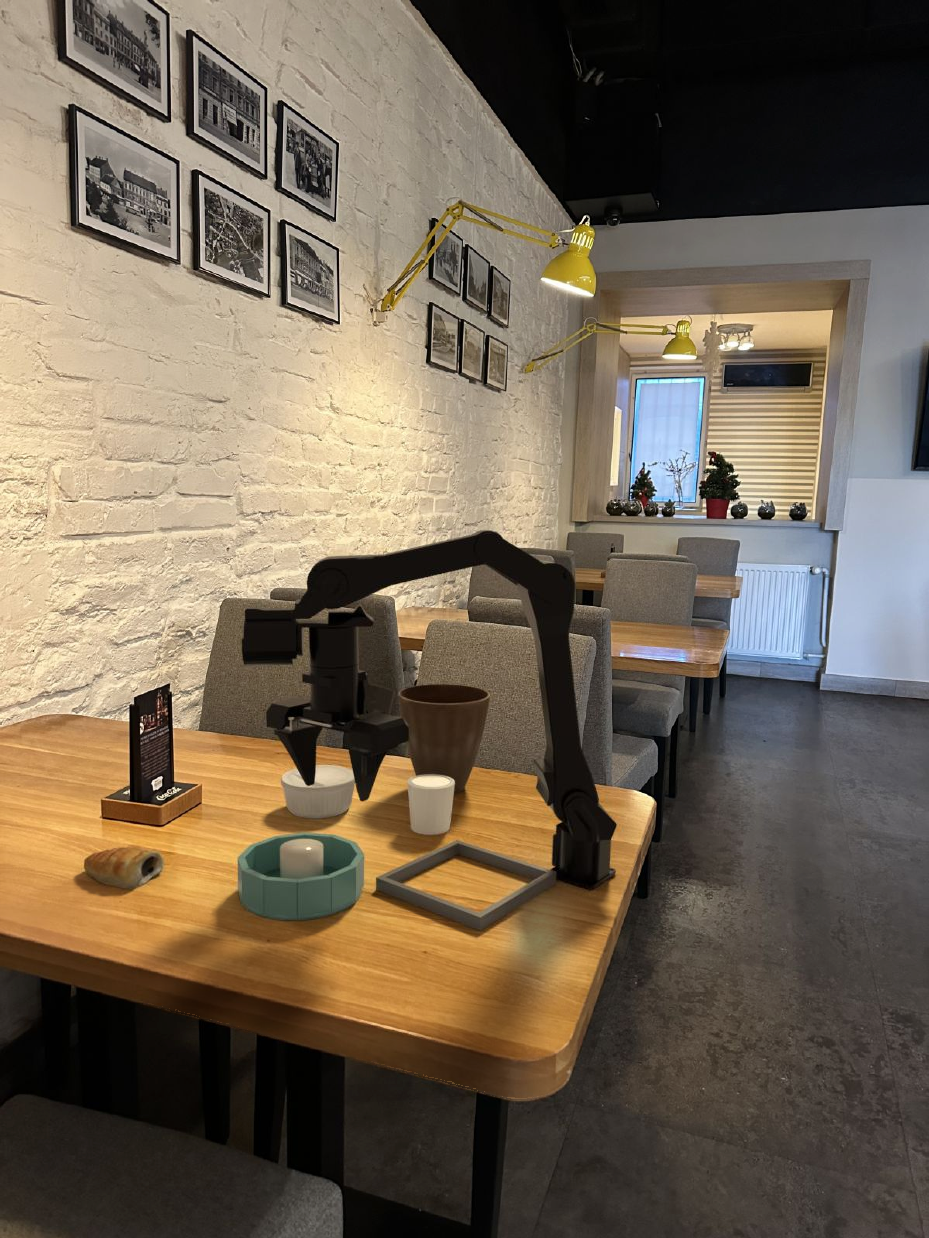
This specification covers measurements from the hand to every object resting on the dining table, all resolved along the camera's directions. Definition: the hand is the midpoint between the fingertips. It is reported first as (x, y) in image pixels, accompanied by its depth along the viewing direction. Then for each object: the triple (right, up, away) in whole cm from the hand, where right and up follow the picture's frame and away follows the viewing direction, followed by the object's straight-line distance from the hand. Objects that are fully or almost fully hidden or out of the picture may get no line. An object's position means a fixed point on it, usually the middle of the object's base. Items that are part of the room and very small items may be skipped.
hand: (336, 792), depth 101 cm
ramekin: (-7, -8, +28) cm, 30 cm away
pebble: (-4, -11, -1) cm, 12 cm away
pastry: (-26, -11, +2) cm, 29 cm away
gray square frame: (+16, -12, +1) cm, 20 cm away
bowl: (-4, -12, -1) cm, 12 cm away
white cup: (+10, -10, +21) cm, 25 cm away
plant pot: (+12, -7, +38) cm, 41 cm away
